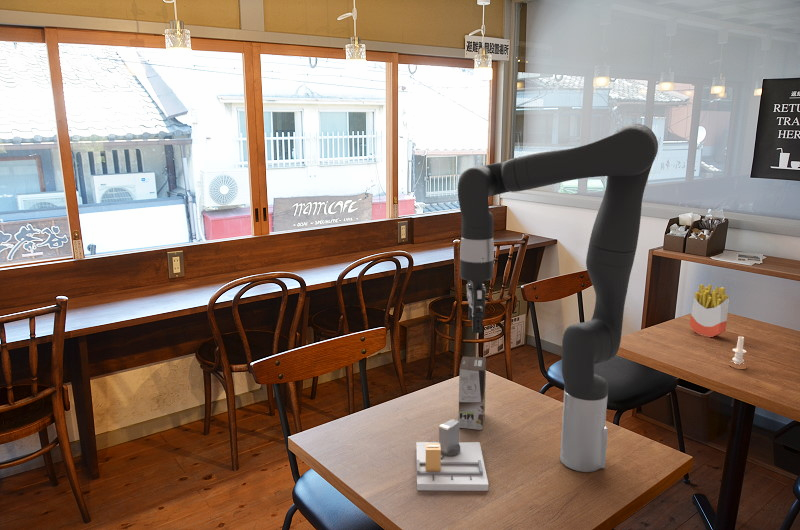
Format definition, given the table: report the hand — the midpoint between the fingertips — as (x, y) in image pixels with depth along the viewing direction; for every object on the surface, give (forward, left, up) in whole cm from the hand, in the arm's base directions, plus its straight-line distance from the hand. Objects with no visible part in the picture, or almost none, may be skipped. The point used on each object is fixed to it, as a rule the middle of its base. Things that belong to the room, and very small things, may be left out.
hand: (475, 326), depth 137 cm
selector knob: (+6, +5, -29) cm, 30 cm away
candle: (-88, -48, -30) cm, 105 cm away
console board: (+6, +10, -30) cm, 32 cm away
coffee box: (-1, -12, -30) cm, 33 cm away
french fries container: (-92, -77, -30) cm, 124 cm away
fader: (+10, +13, -29) cm, 33 cm away
